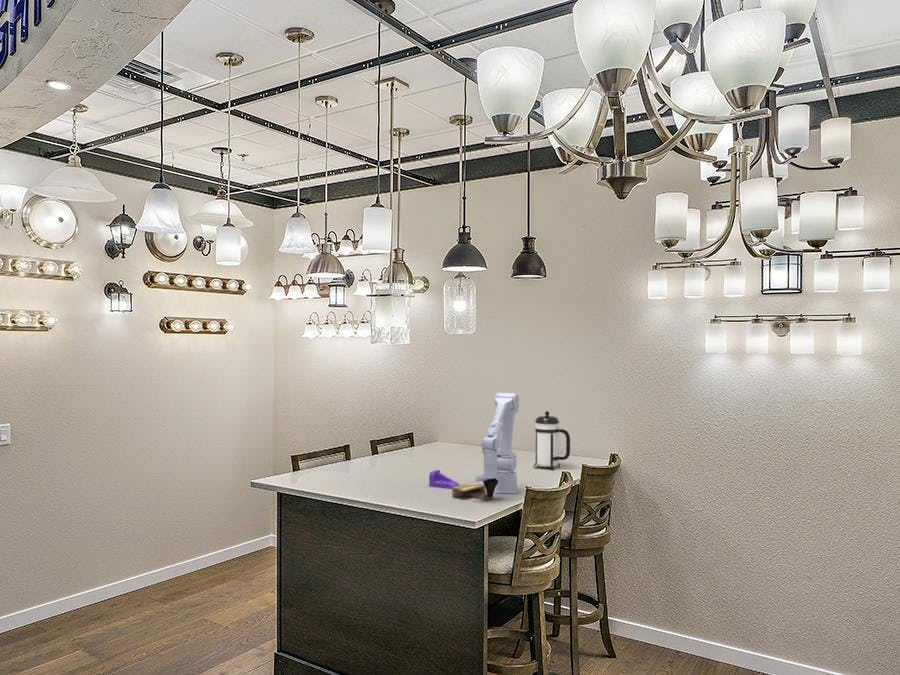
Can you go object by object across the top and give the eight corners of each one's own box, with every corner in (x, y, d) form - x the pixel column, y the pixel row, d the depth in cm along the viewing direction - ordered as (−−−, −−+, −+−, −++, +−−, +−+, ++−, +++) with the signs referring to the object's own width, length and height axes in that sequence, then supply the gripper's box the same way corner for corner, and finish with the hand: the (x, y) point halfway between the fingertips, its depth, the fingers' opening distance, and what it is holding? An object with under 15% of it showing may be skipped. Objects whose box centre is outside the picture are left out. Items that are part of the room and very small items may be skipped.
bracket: (429, 487, 304) (429, 472, 304) (436, 484, 310) (436, 469, 310) (452, 490, 299) (452, 474, 299) (459, 487, 305) (459, 472, 305)
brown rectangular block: (485, 494, 289) (485, 484, 289) (464, 499, 279) (464, 489, 279) (473, 491, 294) (473, 482, 294) (452, 497, 284) (452, 487, 284)
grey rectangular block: (493, 497, 283) (493, 493, 283) (483, 500, 279) (483, 495, 279) (472, 493, 292) (472, 488, 292) (463, 495, 287) (463, 490, 287)
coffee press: (538, 471, 340) (539, 413, 340) (529, 465, 356) (529, 409, 356) (570, 470, 344) (570, 412, 344) (559, 464, 359) (559, 409, 360)
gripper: (498, 461, 288) (498, 492, 287) (471, 465, 280) (470, 497, 279) (508, 464, 282) (508, 496, 282) (480, 467, 274) (480, 500, 274)
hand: (490, 496), depth 280 cm, fingers closed, pressing on grey rectangular block
